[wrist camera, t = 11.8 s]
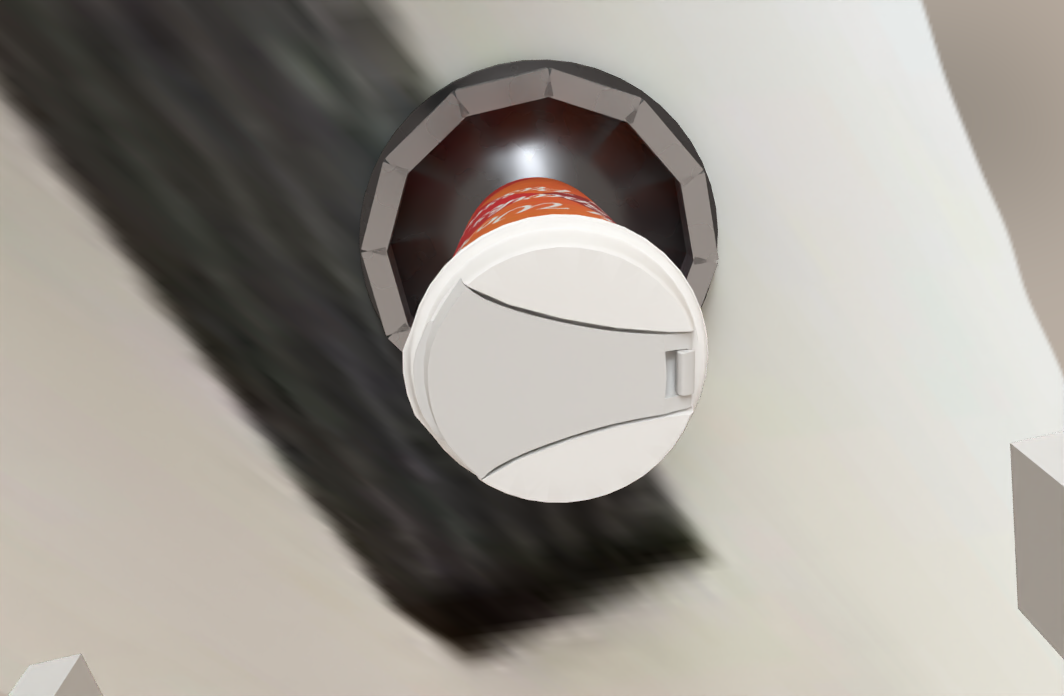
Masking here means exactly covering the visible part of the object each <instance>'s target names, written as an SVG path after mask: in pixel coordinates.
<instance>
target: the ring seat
mask: <svg viewBox="0 0 1064 696" xmlns="http://www.w3.org/2000/svg"><path fill="white" fill-rule="evenodd" d="M531 177H542V178H550V179H555V180H558V181H561V182H564V183H566V184H568V185H570V186H572V187H574V188H576V189H577V190H579V191H580V192H582V193H583V194H584V195H586V196H587V197H588V198H589V199H591V200H592V201H593V202H594V203H595V204H596V205H597V206H598V207H599V208H601V209H602V210H603V211H604V212H605V213H606V214H607V215H608V216H609V217H610V218H611V219H612V220H613V221H614V222H615V223H616V224H617V225H620V226H623V227H625V228H627V229H629V230H631V231H633V232H635V233H636V234H638V235H640V236H642V237H644V238H646V239H647V240H648V241H650V242H651V243H652V244H653V245H655V246H656V247H657V248H658V249H660V250H661V251H662V252H664V253H665V254H666V255H667V257H668V258H669V259H670V260H671V261H672V262H673V263H674V264H675V265H676V266H677V267H678V269H679V270H680V271H681V272H682V274H683V275H684V277H685V279H686V280H687V282H688V283H689V285H690V286H691V288H692V289H693V291H694V294H695V296H696V298H697V301H698V303H699V305H700V308H701V307H702V304H703V302H704V300H705V298H706V295H707V292H708V289H709V286H710V282H711V280H712V277H713V275H714V272H715V270H716V267H717V264H718V263H717V261H716V260H718V254H717V236H718V228H717V216H716V206H715V202H714V197H713V193H712V189H711V184H710V182H709V179H708V176H707V174H706V171H705V168H704V166H703V163H702V161H701V159H700V157H699V155H698V154H697V152H696V150H695V148H694V146H693V144H692V142H691V141H690V140H689V138H688V137H687V135H686V134H685V133H684V131H683V130H682V129H681V127H680V126H679V125H678V123H677V122H676V121H675V120H674V119H673V118H672V117H671V116H670V115H669V114H668V113H667V112H666V111H665V110H664V109H663V108H662V107H661V106H660V105H659V104H658V103H657V102H655V101H654V100H653V99H652V98H650V97H649V96H648V95H646V94H645V93H644V92H643V91H641V90H640V89H638V88H636V87H634V86H633V85H631V84H629V83H627V82H626V81H624V80H622V79H621V78H618V77H616V76H613V75H611V74H608V73H606V72H604V71H601V70H599V69H596V68H593V67H589V66H585V65H581V64H577V63H573V62H565V61H556V60H521V61H515V62H509V63H503V64H498V65H494V66H491V67H488V68H485V69H482V70H478V71H475V72H473V73H471V74H469V75H466V76H464V77H462V78H460V79H458V80H456V81H454V82H452V83H450V84H449V85H447V86H446V87H444V88H443V89H441V90H439V91H438V92H436V93H435V94H433V95H432V96H431V97H429V98H428V99H427V100H426V101H425V102H424V103H422V104H421V105H420V106H419V107H418V108H417V109H416V110H414V111H413V112H412V113H411V114H410V116H409V117H408V118H407V119H406V120H405V121H404V122H403V124H402V125H401V126H400V127H399V128H398V129H397V130H396V132H395V133H394V135H393V136H392V138H391V139H390V141H389V142H388V144H387V145H386V147H385V148H384V150H383V151H382V153H381V155H380V157H379V159H378V161H377V163H376V166H375V168H374V170H373V172H372V174H371V177H370V180H369V183H368V186H367V190H366V193H365V196H364V201H363V207H362V212H361V218H360V237H359V245H360V256H361V266H362V270H363V275H364V279H365V283H366V288H367V291H368V293H369V296H370V299H371V301H372V304H373V307H374V309H375V311H376V313H377V315H378V317H379V319H380V320H381V322H382V324H383V327H384V330H385V334H386V335H389V337H388V339H389V340H390V341H391V342H392V343H393V344H394V345H395V346H396V347H397V348H399V349H400V350H401V351H402V352H403V348H404V346H405V343H406V341H407V338H408V335H409V333H410V330H411V328H412V325H413V322H414V319H415V316H416V313H417V310H418V307H419V304H420V302H421V301H422V299H423V297H424V295H425V293H426V291H427V289H428V287H429V285H430V284H431V283H432V281H433V280H434V279H435V277H436V276H437V275H438V273H439V272H440V271H441V269H442V268H443V267H444V266H445V265H446V264H447V263H448V262H449V261H450V260H451V259H452V258H453V255H454V253H455V251H456V248H457V246H458V244H459V242H460V239H461V237H462V235H463V233H464V231H465V228H466V226H467V224H468V222H469V221H470V219H471V217H472V215H473V213H474V212H475V210H476V209H477V208H478V206H479V205H480V204H481V203H482V202H483V201H484V199H485V198H486V197H488V196H489V195H490V194H491V193H492V192H494V191H495V190H496V189H498V188H500V187H501V186H503V185H505V184H507V183H510V182H512V181H515V180H519V179H524V178H531Z"/></svg>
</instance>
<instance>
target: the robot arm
mask: <svg viewBox="0 0 1064 696" xmlns="http://www.w3.org/2000/svg"><path fill="white" fill-rule="evenodd" d="M1010 448H1011V470H1012V491H1013V513H1014V534H1015V555H1016V577H1017V598H1018V609H1019V610H1020V611H1021V612H1022V613H1023V615H1024V616H1025V617H1026V618H1027V619H1028V620H1029V621H1030V622H1031V623H1032V625H1033V626H1034V627H1035V628H1036V629H1037V630H1038V631H1039V632H1040V634H1041V635H1042V636H1043V637H1044V638H1045V639H1046V640H1047V641H1048V642H1049V644H1050V645H1051V646H1052V647H1053V648H1054V649H1055V650H1056V651H1057V652H1058V654H1059V655H1060V656H1061V657H1062V658H1063V659H1064V431H1061V432H1057V433H1052V434H1048V435H1044V436H1039V437H1035V438H1030V439H1026V440H1021V441H1017V442H1013V443H1010ZM8 696H103V695H102V693H101V691H100V689H99V687H98V685H97V683H96V681H95V679H94V677H93V675H92V673H91V671H90V669H89V667H88V666H87V664H86V662H85V660H84V658H83V656H82V654H77V655H72V656H68V657H64V658H59V659H55V660H50V661H46V662H42V663H37V664H33V665H29V667H28V668H27V669H26V671H25V672H24V674H23V675H22V676H21V678H20V679H19V681H18V682H17V683H16V685H15V686H14V688H13V689H12V690H11V692H10V693H9V695H8Z"/></svg>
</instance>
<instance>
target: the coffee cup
mask: <svg viewBox="0 0 1064 696" xmlns="http://www.w3.org/2000/svg"><path fill="white" fill-rule="evenodd" d="M707 362H708V343H707V331H706V327H705V322H704V318H703V314H702V310H701V308H700V305H699V303H698V301H697V298H696V296H695V294H694V291H693V289H692V288H691V286H690V285H689V283H688V282H687V280H686V279H685V277H684V275H683V274H682V272H681V271H680V270H679V269H678V267H677V266H676V265H675V264H674V263H673V262H672V261H671V260H670V259H669V258H668V257H667V255H666V254H665V253H664V252H662V251H661V250H660V249H658V248H657V247H656V246H655V245H653V244H652V243H651V242H650V241H648V240H647V239H646V238H644V237H642V236H640V235H638V234H636V233H635V232H633V231H631V230H629V229H627V228H625V227H623V226H620V225H617V224H616V223H615V222H614V221H613V220H612V219H611V218H610V217H609V216H608V215H607V214H606V213H605V212H604V211H603V210H602V209H601V208H599V207H598V206H597V205H596V204H595V203H594V202H593V201H592V200H591V199H589V198H588V197H587V196H586V195H584V194H583V193H582V192H580V191H579V190H577V189H576V188H574V187H572V186H570V185H568V184H566V183H564V182H561V181H558V180H555V179H550V178H542V177H531V178H524V179H519V180H515V181H512V182H510V183H507V184H505V185H503V186H501V187H500V188H498V189H496V190H495V191H494V192H492V193H491V194H490V195H489V196H488V197H486V198H485V199H484V201H483V202H482V203H481V204H480V205H479V206H478V208H477V209H476V210H475V212H474V213H473V215H472V217H471V219H470V221H469V222H468V224H467V226H466V228H465V231H464V233H463V235H462V237H461V239H460V242H459V244H458V246H457V248H456V251H455V253H454V255H453V258H452V259H451V260H450V261H449V262H448V263H447V264H446V265H445V266H444V267H443V268H442V269H441V271H440V272H439V273H438V275H437V276H436V277H435V279H434V280H433V281H432V283H431V284H430V285H429V287H428V289H427V291H426V293H425V295H424V297H423V299H422V301H421V302H420V304H419V307H418V310H417V313H416V316H415V319H414V322H413V325H412V328H411V330H410V333H409V335H408V338H407V341H406V343H405V346H404V348H403V375H404V381H405V386H406V391H407V395H408V398H409V401H410V403H411V406H412V409H413V412H414V414H415V416H416V417H417V418H418V419H419V420H420V422H421V423H422V424H423V425H424V426H425V427H426V429H427V430H428V431H429V432H430V433H431V434H432V436H433V437H434V438H435V439H436V440H437V442H438V443H439V444H440V445H441V447H442V448H443V449H444V450H445V451H446V452H447V453H448V454H449V455H450V456H451V457H452V458H453V459H455V460H456V461H457V462H458V463H459V464H460V465H461V466H463V467H464V468H466V469H467V470H469V471H470V472H472V473H473V474H475V475H477V476H478V479H479V480H481V481H482V482H484V483H485V484H487V485H489V486H491V487H493V488H495V489H497V490H500V491H502V492H504V493H506V494H509V495H513V496H516V497H520V498H523V499H527V500H534V501H540V502H566V503H568V502H575V501H582V500H589V499H592V498H596V497H600V496H603V495H607V494H609V493H612V492H614V491H616V490H618V489H621V488H623V487H625V486H627V485H629V484H631V483H632V482H634V481H636V480H637V479H639V478H640V477H642V476H644V475H645V474H646V473H647V472H649V471H650V470H651V469H652V468H653V467H655V466H656V465H657V464H658V463H659V462H661V460H662V459H663V458H664V457H665V456H666V455H667V454H668V453H669V452H670V450H671V449H672V448H673V447H674V446H675V444H676V443H677V441H678V440H679V438H680V436H681V435H682V433H683V432H684V430H685V429H686V426H687V424H688V422H689V420H690V418H691V417H692V415H693V412H694V410H695V408H696V406H697V404H698V401H699V399H700V397H701V393H702V389H703V385H704V382H705V378H706V371H707Z"/></svg>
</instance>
